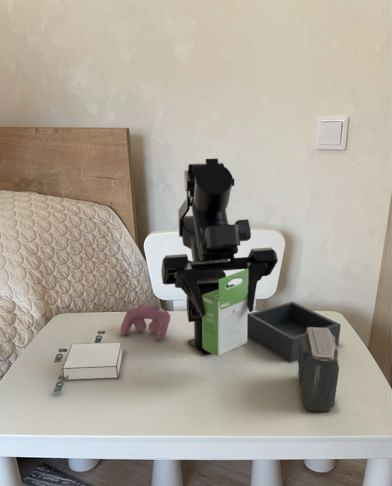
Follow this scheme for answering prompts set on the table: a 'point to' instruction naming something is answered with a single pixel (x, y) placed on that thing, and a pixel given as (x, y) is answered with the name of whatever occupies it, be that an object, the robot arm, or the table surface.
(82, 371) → the container
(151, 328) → the video game controller
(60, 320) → the table surface
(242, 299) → the ink box
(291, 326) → the bin
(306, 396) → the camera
